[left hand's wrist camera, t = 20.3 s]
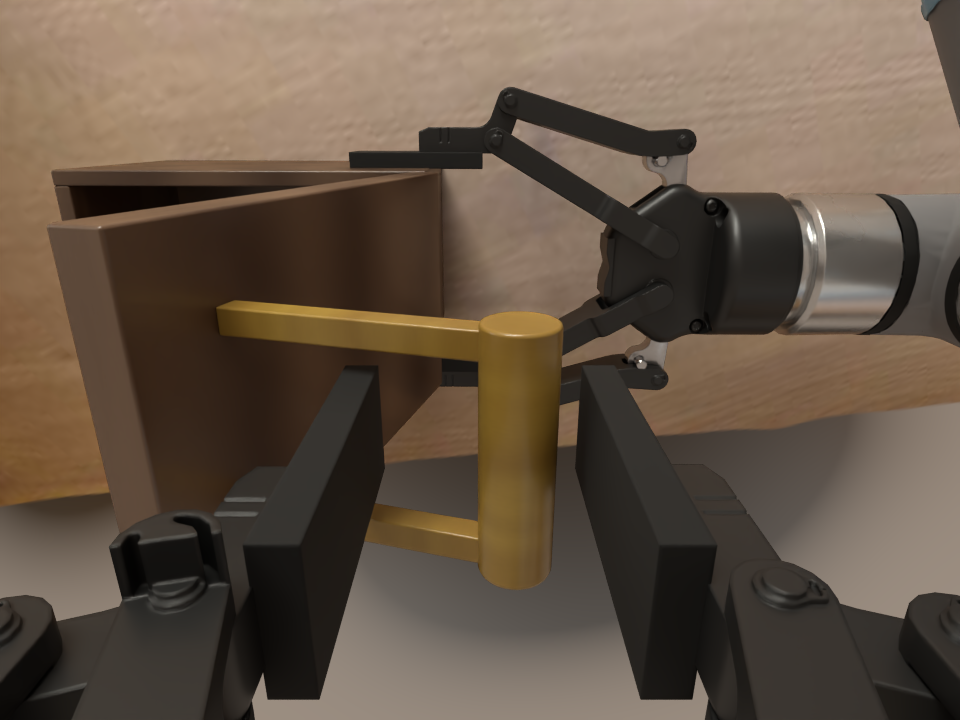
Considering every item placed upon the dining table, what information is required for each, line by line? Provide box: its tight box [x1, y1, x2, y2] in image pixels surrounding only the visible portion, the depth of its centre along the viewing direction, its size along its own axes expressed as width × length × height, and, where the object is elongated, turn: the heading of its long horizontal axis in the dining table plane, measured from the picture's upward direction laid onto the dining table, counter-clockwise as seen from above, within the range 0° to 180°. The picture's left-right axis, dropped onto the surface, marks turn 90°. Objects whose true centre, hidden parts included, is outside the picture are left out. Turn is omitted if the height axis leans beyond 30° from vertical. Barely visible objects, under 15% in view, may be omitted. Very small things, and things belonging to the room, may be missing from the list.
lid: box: [47, 172, 564, 590], centre depth 20 cm, size 18×10×9 cm
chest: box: [51, 161, 444, 318], centre depth 35 cm, size 17×10×11 cm, turn 90°
